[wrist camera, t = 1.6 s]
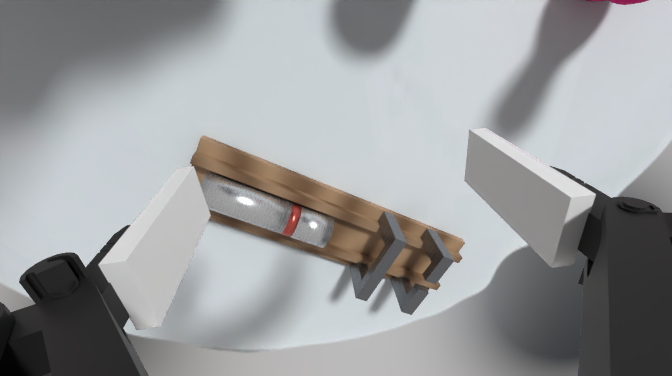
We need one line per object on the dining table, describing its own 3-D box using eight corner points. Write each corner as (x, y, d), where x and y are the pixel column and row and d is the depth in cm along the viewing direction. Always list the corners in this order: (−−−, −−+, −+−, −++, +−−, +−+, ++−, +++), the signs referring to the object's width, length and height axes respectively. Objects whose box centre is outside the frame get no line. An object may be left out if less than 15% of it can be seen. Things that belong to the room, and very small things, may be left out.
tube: (200, 195, 39) (190, 210, 36) (210, 166, 38) (201, 179, 35) (319, 236, 44) (321, 254, 40) (332, 212, 43) (335, 228, 39)
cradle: (180, 204, 41) (173, 214, 39) (203, 135, 37) (197, 142, 35) (425, 286, 51) (430, 298, 49) (462, 239, 48) (469, 249, 46)
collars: (349, 265, 47) (355, 297, 41) (383, 210, 43) (395, 238, 38) (399, 282, 49) (411, 314, 44) (436, 231, 45) (454, 260, 40)
